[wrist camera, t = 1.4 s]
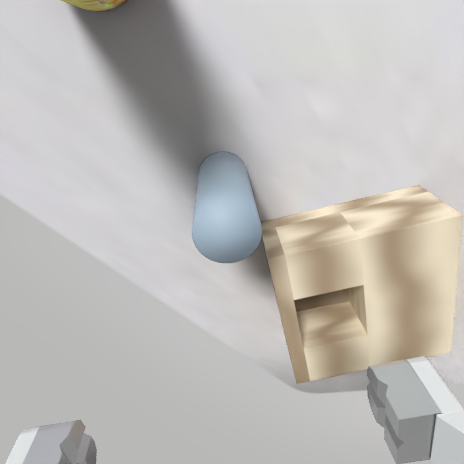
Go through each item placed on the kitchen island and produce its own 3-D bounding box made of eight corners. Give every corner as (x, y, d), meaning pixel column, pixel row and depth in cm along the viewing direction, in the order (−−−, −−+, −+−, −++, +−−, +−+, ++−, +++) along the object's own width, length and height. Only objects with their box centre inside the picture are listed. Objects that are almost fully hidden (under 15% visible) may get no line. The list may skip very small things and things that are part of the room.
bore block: (418, 185, 30) (462, 215, 25) (417, 308, 37) (451, 352, 31) (258, 222, 31) (268, 259, 26) (285, 336, 38) (296, 383, 32)
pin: (241, 146, 28) (254, 193, 19) (251, 192, 30) (268, 254, 21) (192, 158, 28) (182, 211, 19) (206, 203, 30) (202, 269, 21)
